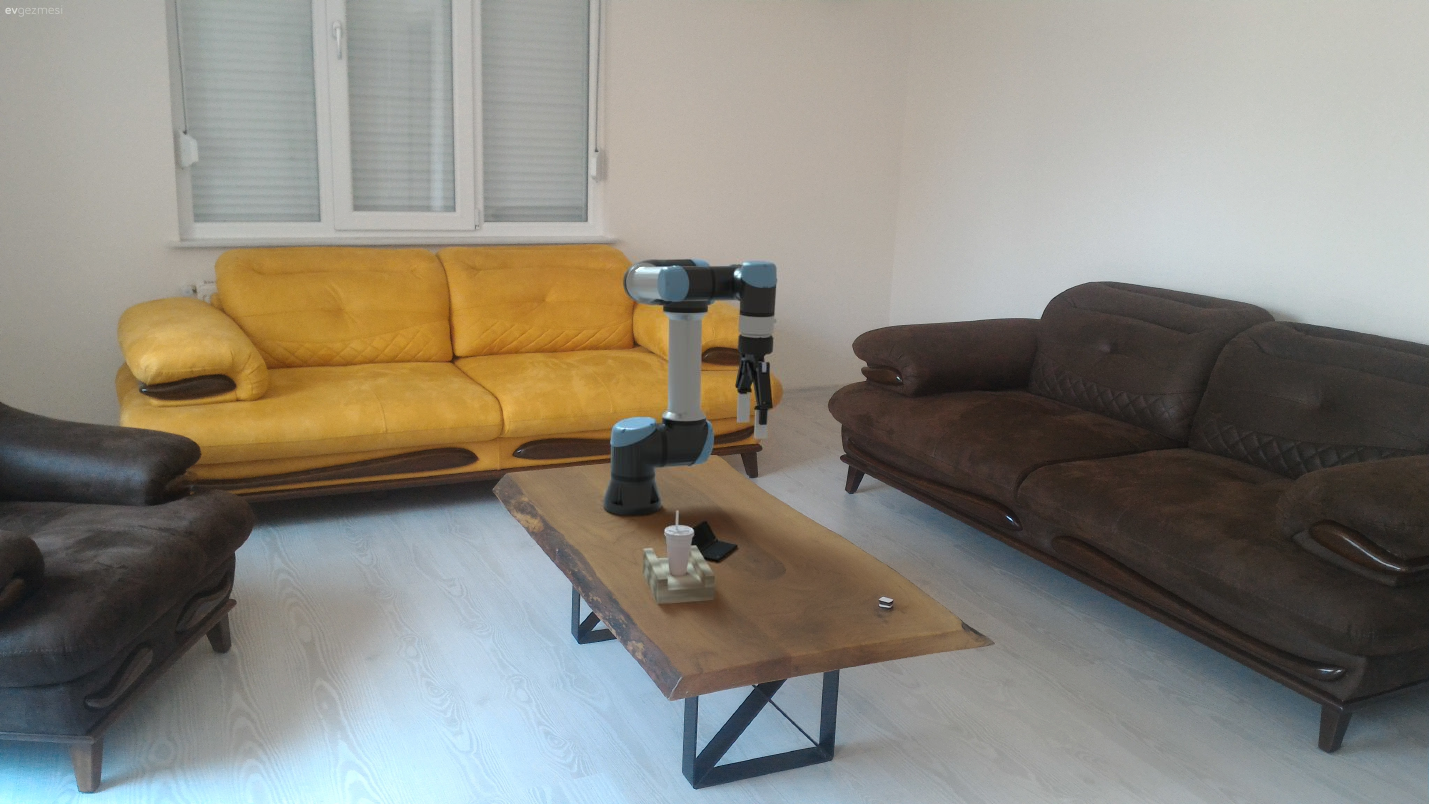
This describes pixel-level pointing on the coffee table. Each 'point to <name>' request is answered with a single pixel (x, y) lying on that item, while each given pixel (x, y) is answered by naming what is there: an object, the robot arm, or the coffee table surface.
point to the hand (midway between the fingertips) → (751, 430)
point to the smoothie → (678, 547)
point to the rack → (679, 578)
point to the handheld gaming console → (710, 543)
